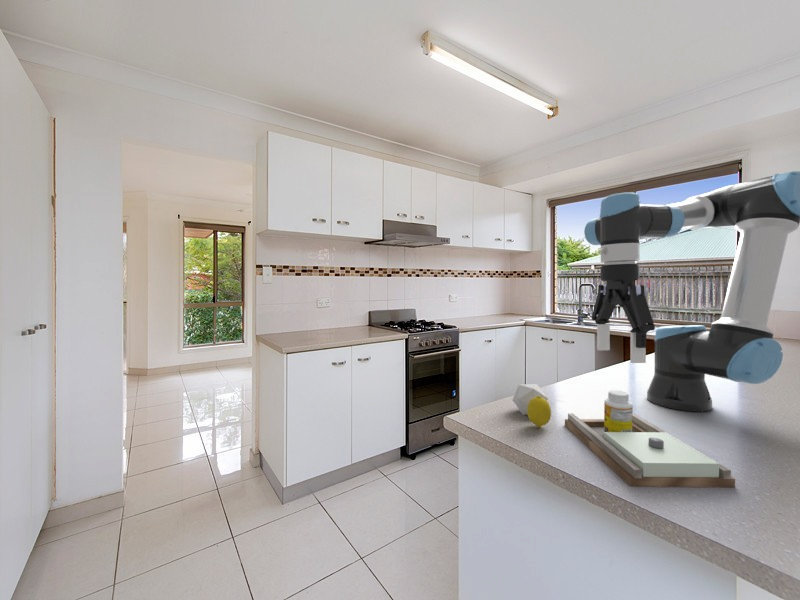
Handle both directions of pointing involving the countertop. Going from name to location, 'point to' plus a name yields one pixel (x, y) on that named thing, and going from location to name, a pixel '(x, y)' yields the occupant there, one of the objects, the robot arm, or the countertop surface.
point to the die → (526, 396)
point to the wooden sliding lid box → (626, 469)
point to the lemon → (539, 411)
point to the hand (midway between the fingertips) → (619, 355)
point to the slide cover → (662, 455)
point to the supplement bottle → (617, 412)
